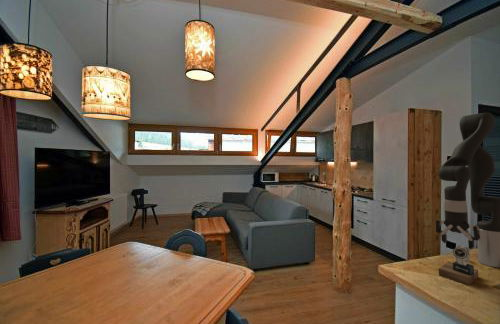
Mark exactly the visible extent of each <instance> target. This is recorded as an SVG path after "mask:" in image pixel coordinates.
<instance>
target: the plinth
mask: <svg viewBox="0 0 500 324" xmlns="http://www.w3.org/2000/svg"><path fill="white" fill-rule="evenodd" d="M453 263H454V262H451V261H447V262H446V263H444V264H443V265H442V266H440V267H439V268H438V276H440V277H443V278H446V279H449V280H453V281H455V282H458V283H461V284H463V285H467V286H470V285H472V284H473V282H474V281H476V280H477V279H478V277H479V270H478V269H476V268H474V273H473V274H471V275H467V274H464V273H461V272H458V271H455V270H453Z"/></svg>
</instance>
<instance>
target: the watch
mask: <svg viewBox="0 0 500 324" xmlns="http://www.w3.org/2000/svg"><path fill="white" fill-rule="evenodd" d="M452 255H453V257H454V259H455V261H453V262H452V263H453V270H455V271H458V272H461V273H464V274H467V275H471V274H473V273H474V269H475V268H474V267H475V266H474V265H473V264H471V263H470V264H469V262H470V255H471V254H470V249H469V246H464V245H458V246H456V247H455V248H453V249H452Z"/></svg>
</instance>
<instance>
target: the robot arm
mask: <svg viewBox="0 0 500 324" xmlns="http://www.w3.org/2000/svg"><path fill="white" fill-rule="evenodd" d="M495 123H496V120H495V117H494V115H493V114H492V113H491V112H480V113H473V114H469V115H463V116H461V117H460V119H459V130H460V134H461V137H462V141H461V142H460V143H459V144H458V145H456V146H455V148H454V149H453V152H452V154H451V156H450V158H448V159H447V160H446V161H445V162H444V163H442V165H441V166H440V168H439V169H438V171H437V173H438V175H437V176H438V178H439V179H440V180H442V181H445V182H456V183H455V185H452V186H446V187H444V190H443V191H444V201H443V202H444V203H443V209H444V210H443V211H444V220H442V219H440V218H439V219H437V220H436V221H435V232H436V233H439V234H440V235H441V242H443V244H447V242H448V237H447V236H448V235H447V234H448V233H449V231H450V232H452V233H458V234H463V236H465V237H466V239H468V241H467V242H468V246H467V247H468V249H469V250H473V248H475V241H477V242H476V243H477V261H478V262H479V263H481V264H483V265H485V266H489V267H493V268H498V269H499V268H500V198H499V197H492V196H485V195H484V196H483V190H484V188H485V186H486V184H487V183H488V182H489V181H490V179H491V178H492V177H493V176H494V174H495V171H496V168H495V161H494V157H493V156H492V155H491V154H490V153H489V152H488V151H487V150H486V149H485V148H484V147H483V146H481V144H482V143H483V142H484V141H485V140H486V138H487V137H488V135H489V134H490V133H491V132H492V130H493V129H494V127H495ZM468 184H469V185H470V206H471V209H472V211H473V213H475V214H477V215H483V216H490V217H491V219H488V220H480V221H477V222H476V225H475V224H474V225H471V224H469V219H468V218H469V215H468V205H467V204H468V203H467V187H468ZM443 224H444V226H445V227H446V228H444V229H443V230H442V226H443ZM469 229H471V231H473V235H472V233H471V232H470V231H469Z"/></svg>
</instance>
